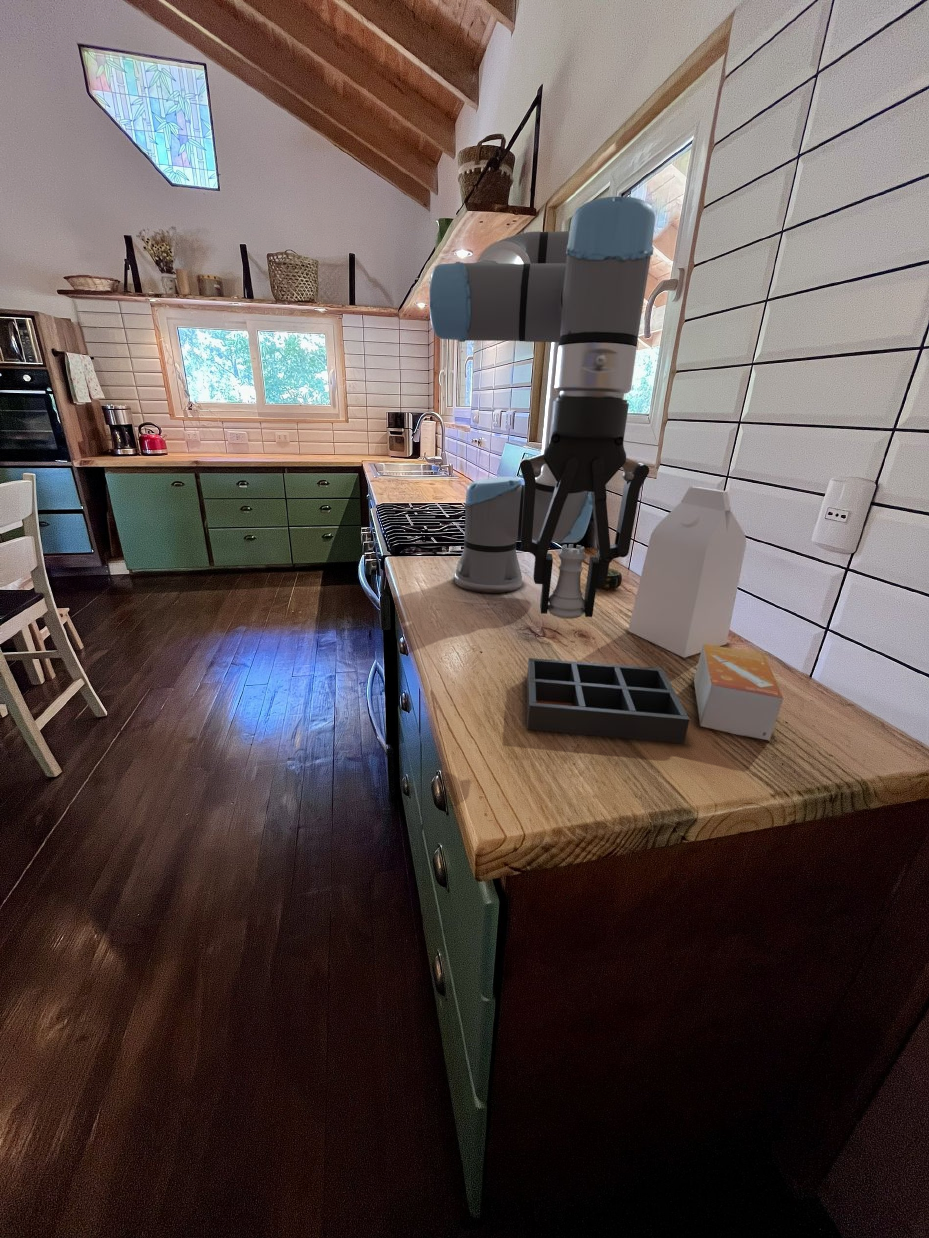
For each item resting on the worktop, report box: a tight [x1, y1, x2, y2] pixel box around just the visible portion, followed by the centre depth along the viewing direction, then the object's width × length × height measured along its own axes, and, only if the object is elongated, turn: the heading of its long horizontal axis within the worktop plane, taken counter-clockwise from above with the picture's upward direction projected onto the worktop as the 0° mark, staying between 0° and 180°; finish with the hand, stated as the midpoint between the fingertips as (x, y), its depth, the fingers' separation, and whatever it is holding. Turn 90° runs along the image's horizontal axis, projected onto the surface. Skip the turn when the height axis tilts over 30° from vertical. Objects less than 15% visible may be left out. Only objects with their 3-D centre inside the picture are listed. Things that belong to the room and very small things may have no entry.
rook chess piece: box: [548, 543, 588, 620], centre depth 58 cm, size 4×4×8 cm
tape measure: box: [603, 568, 623, 590], centre depth 113 cm, size 7×7×4 cm
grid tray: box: [526, 657, 690, 745], centre depth 66 cm, size 13×19×4 cm
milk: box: [627, 485, 747, 659], centre depth 84 cm, size 12×12×26 cm
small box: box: [693, 644, 784, 741], centre depth 66 cm, size 8×6×13 cm
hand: (565, 610), depth 59 cm, fingers closed on rook chess piece, 4 cm apart
